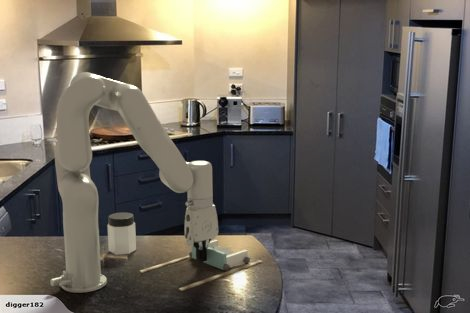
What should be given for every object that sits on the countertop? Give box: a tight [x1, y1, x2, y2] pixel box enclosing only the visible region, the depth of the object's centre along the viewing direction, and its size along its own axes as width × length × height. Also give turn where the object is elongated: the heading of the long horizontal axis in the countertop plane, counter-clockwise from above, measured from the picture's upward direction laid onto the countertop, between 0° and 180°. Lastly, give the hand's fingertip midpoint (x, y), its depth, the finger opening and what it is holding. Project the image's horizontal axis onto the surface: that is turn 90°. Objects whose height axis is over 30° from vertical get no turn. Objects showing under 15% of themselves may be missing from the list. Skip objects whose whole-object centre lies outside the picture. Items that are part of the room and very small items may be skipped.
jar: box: [107, 212, 137, 256], centre depth 205 cm, size 9×8×12 cm
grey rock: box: [213, 245, 234, 256], centre depth 195 cm, size 10×6×6 cm, turn 7°
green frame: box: [188, 239, 251, 272], centre depth 195 cm, size 11×17×5 cm, turn 43°
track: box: [139, 245, 263, 292], centre depth 191 cm, size 32×20×1 cm, turn 133°
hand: (201, 260), depth 190 cm, fingers closed
